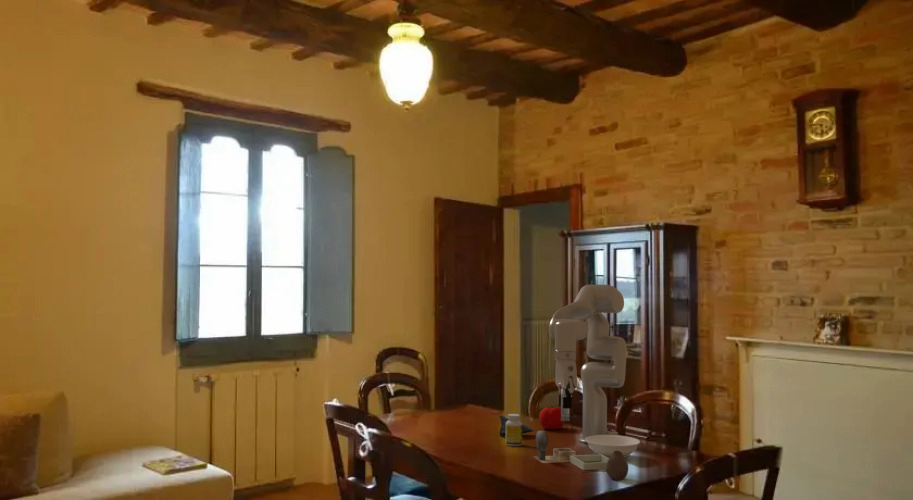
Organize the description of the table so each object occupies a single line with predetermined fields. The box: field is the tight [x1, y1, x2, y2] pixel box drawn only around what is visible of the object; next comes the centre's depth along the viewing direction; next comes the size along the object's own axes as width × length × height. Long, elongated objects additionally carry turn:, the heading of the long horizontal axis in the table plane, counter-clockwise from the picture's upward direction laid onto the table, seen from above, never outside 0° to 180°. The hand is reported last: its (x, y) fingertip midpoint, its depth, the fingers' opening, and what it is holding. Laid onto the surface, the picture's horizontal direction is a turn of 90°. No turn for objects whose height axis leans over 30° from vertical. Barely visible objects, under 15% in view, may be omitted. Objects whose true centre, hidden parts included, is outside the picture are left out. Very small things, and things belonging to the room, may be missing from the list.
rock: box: [498, 414, 535, 437], centre depth 322 cm, size 16×8×10 cm
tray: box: [569, 454, 610, 474], centre depth 268 cm, size 12×12×3 cm
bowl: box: [585, 434, 641, 458], centre depth 285 cm, size 20×20×6 cm
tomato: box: [538, 404, 566, 430], centre depth 339 cm, size 11×13×10 cm
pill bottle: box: [504, 413, 523, 447], centre depth 304 cm, size 6×6×12 cm
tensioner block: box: [532, 430, 577, 464], centre depth 276 cm, size 14×10×11 cm
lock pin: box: [559, 383, 570, 422], centre depth 278 cm, size 5×5×13 cm
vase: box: [606, 451, 629, 481], centre depth 254 cm, size 7×7×9 cm
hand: (565, 406), depth 278 cm, fingers closed on lock pin, 3 cm apart
